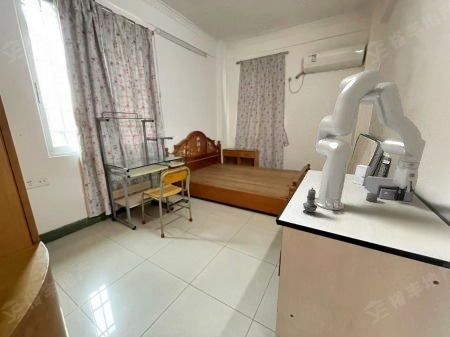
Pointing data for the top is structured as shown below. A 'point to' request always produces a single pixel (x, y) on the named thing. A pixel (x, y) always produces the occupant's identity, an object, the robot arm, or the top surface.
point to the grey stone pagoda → (310, 203)
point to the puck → (371, 197)
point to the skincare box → (361, 174)
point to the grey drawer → (393, 194)
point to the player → (379, 184)
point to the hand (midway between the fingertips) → (398, 200)
